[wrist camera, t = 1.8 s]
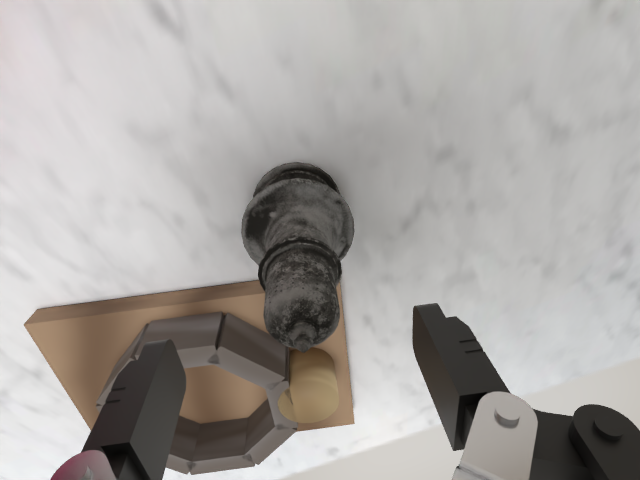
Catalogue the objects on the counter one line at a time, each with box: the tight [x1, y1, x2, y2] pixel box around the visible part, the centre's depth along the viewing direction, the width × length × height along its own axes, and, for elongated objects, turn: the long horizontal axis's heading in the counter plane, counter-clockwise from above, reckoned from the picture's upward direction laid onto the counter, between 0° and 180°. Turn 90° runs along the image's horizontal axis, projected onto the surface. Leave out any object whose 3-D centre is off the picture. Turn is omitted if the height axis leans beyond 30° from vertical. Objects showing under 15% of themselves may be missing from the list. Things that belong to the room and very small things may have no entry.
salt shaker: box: [241, 163, 354, 353], centre depth 18 cm, size 6×6×12 cm
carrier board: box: [24, 280, 354, 475], centre depth 27 cm, size 20×14×4 cm
